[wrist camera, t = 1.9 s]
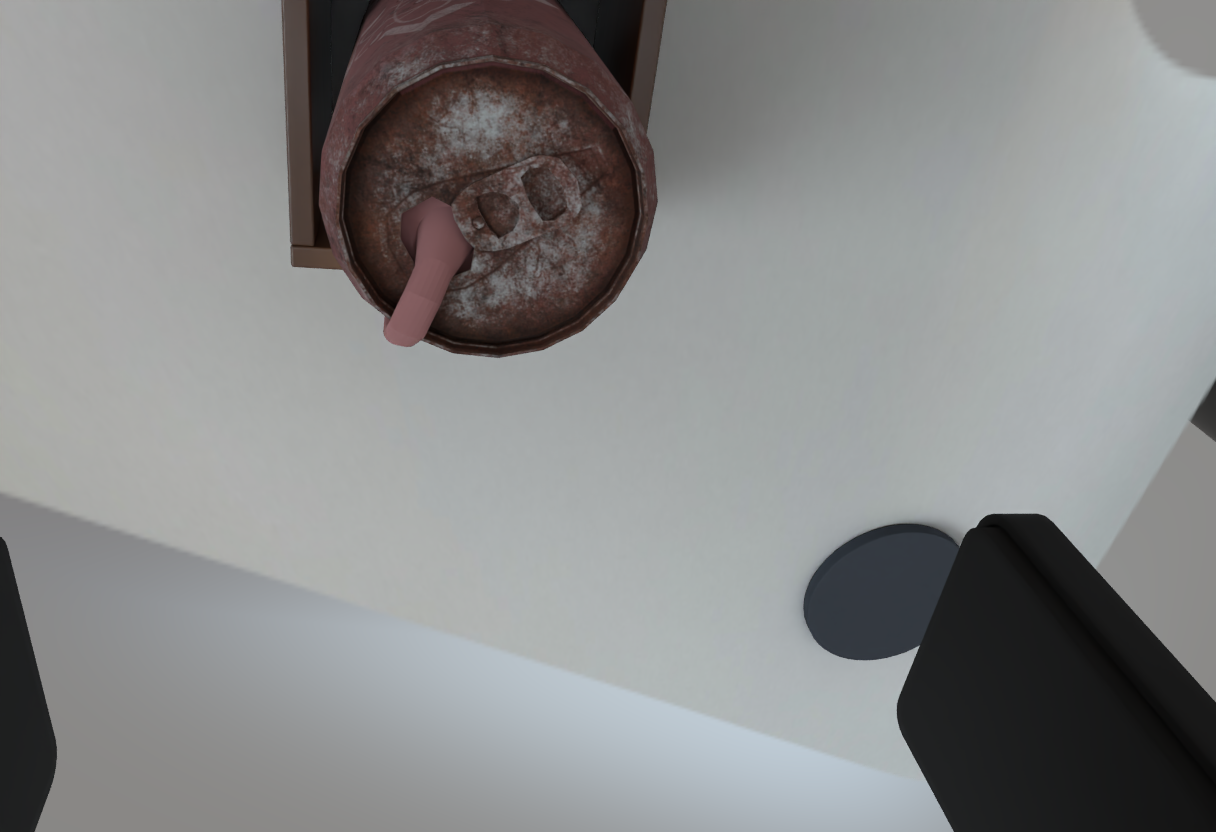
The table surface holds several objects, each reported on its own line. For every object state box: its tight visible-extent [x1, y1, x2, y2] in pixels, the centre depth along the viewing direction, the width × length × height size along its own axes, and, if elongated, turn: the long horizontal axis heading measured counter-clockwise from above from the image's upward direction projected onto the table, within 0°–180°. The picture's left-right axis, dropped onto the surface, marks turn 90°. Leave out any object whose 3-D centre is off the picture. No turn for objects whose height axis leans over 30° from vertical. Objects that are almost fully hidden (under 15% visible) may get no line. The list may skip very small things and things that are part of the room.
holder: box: [281, 0, 667, 270], centre depth 26 cm, size 9×9×6 cm
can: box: [319, 0, 658, 358], centre depth 22 cm, size 6×6×14 cm
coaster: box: [804, 524, 960, 660], centre depth 43 cm, size 8×8×1 cm
